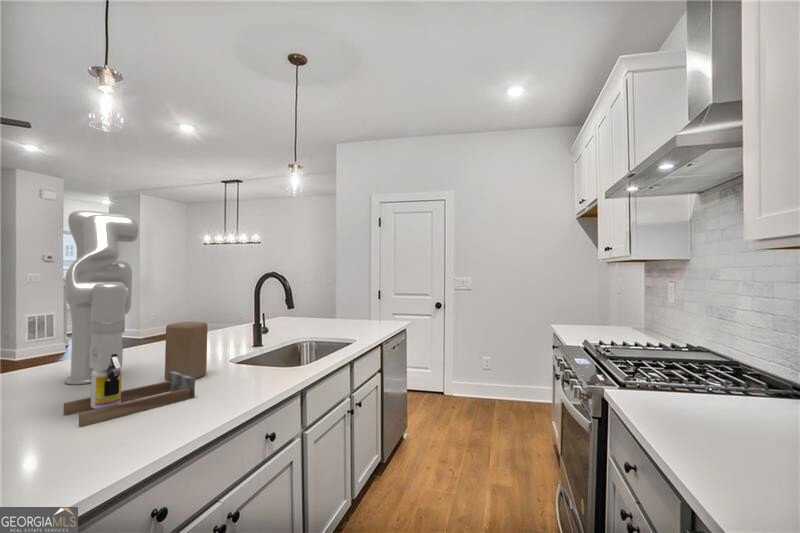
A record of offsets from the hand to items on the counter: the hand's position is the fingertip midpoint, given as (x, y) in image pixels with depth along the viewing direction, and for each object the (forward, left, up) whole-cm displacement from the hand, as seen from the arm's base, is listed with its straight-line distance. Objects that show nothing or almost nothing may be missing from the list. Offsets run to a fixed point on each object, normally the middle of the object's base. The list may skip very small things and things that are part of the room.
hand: (106, 391), depth 105 cm
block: (-17, +30, -6) cm, 35 cm away
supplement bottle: (0, 0, -4) cm, 4 cm away
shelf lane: (0, +7, -5) cm, 9 cm away
